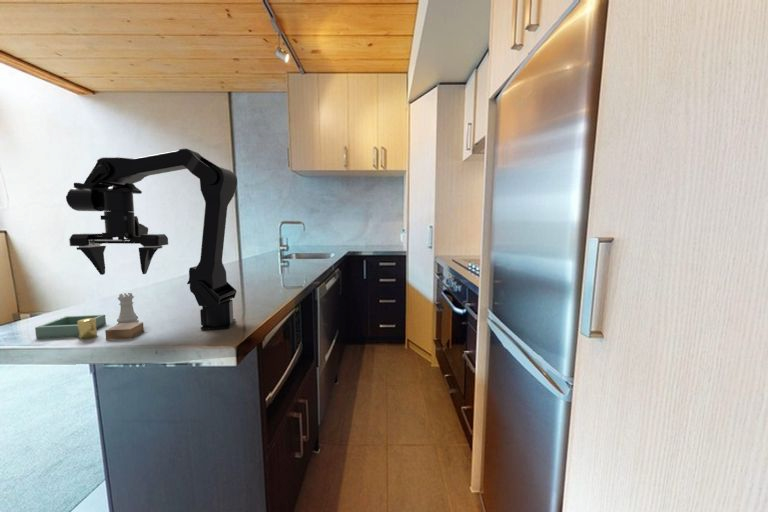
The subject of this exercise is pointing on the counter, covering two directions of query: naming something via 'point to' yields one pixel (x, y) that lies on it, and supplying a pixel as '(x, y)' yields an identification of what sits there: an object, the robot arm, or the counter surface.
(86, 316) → the tray
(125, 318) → the rook chess piece
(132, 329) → the flat brown wooden block
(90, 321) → the gold metallic block
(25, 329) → the counter surface
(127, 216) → the robot arm
